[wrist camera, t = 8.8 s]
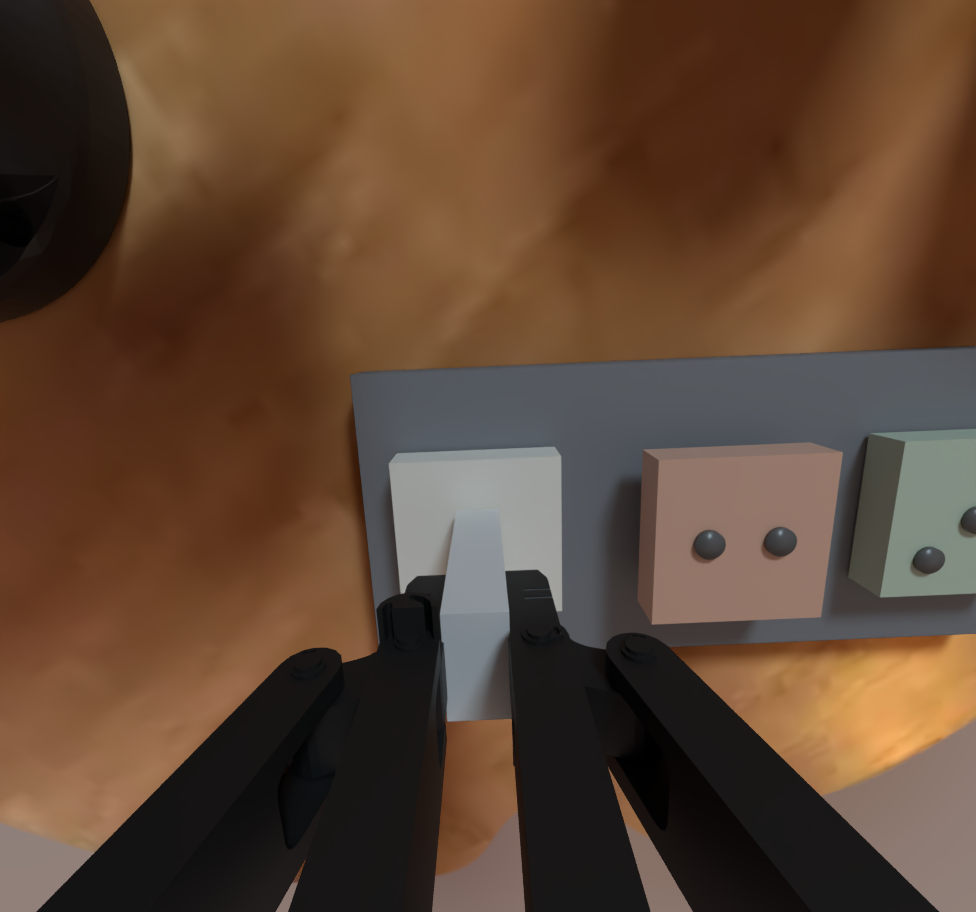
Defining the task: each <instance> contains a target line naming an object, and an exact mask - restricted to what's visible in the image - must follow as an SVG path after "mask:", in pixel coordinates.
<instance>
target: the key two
mask: <svg viewBox="0 0 976 912" xmlns="http://www.w3.org/2000/svg"><path fill="white" fill-rule="evenodd" d="M842 456H843V452H840V451H837V450H834V449H830V448H827V447H824V446H820V445H817V444H814V443H810V442H808V443H785V444H761V445H738V446H714V447H690V448H667V449H643V457H642V485H641V514H640V543H639V572H638V600H637V601H638V603H639V604H640V606H641V607H642V609H643V611H644V612H645V614H646V616H647V617H648V619H649V621H650V622H651V624H652V625H654V624H677V623H700V622H723V621H746V620H770V619H793V618H816V617H821V613H822V605H823V598H824V590H825V583H826V575H827V568H828V561H829V553H830V546H831V538H832V531H833V523H834V516H835V508H836V501H837V493H838V486H839V478H840V471H841V464H842Z"/></svg>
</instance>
